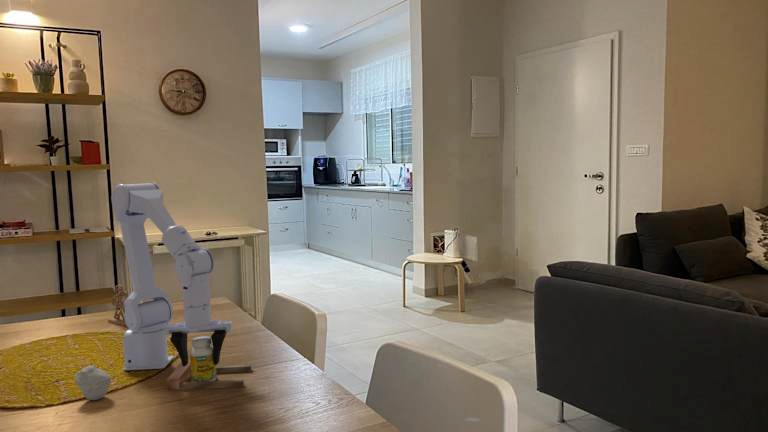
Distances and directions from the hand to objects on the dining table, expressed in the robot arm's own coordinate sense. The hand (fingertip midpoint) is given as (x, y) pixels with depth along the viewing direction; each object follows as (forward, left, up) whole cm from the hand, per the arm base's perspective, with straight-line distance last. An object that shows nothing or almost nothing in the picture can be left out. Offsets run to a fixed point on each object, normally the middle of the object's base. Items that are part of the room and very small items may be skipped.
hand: (200, 364), depth 129 cm
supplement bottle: (0, 0, -4) cm, 4 cm away
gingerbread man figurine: (-38, +52, -4) cm, 65 cm away
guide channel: (+2, 0, -4) cm, 4 cm away
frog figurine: (-20, -8, -4) cm, 22 cm away
